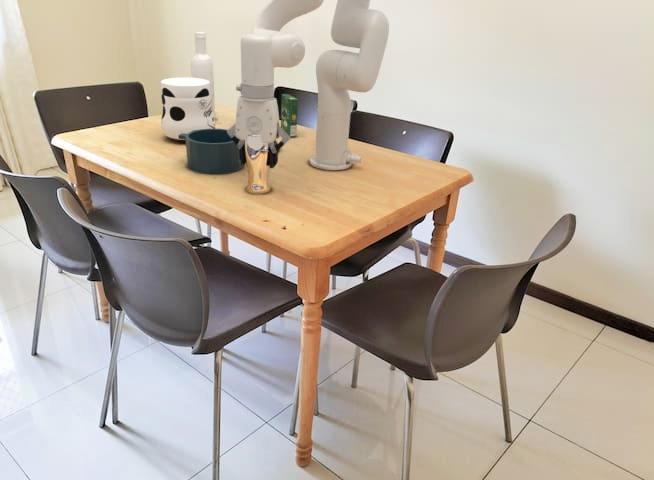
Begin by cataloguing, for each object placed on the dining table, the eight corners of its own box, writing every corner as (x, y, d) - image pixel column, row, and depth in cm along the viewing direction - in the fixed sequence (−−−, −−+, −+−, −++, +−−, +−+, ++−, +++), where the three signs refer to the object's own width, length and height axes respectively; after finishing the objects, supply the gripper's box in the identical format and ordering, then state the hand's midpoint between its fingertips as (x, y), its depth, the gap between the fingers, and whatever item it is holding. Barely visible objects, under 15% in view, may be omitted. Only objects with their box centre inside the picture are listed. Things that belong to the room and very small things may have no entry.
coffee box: (297, 137, 176) (298, 98, 170) (289, 138, 175) (290, 98, 168) (287, 131, 182) (288, 93, 176) (280, 132, 181) (280, 93, 175)
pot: (194, 153, 155) (192, 125, 151) (259, 161, 151) (258, 133, 147) (169, 168, 142) (166, 138, 138) (239, 178, 138) (239, 147, 134)
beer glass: (272, 185, 135) (272, 128, 127) (271, 195, 129) (271, 136, 121) (246, 184, 134) (245, 127, 127) (244, 194, 128) (242, 135, 121)
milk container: (226, 140, 169) (223, 84, 160) (178, 148, 158) (173, 88, 149) (199, 128, 180) (195, 75, 171) (153, 135, 169) (147, 79, 160)
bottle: (218, 117, 194) (214, 31, 179) (212, 122, 188) (207, 33, 173) (198, 116, 195) (192, 30, 180) (191, 121, 188) (184, 32, 173)
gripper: (216, 91, 118) (220, 165, 127) (288, 98, 114) (287, 174, 123) (229, 85, 124) (232, 156, 133) (297, 92, 121) (295, 164, 130)
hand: (258, 164), depth 128 cm, fingers closed on beer glass, 7 cm apart
